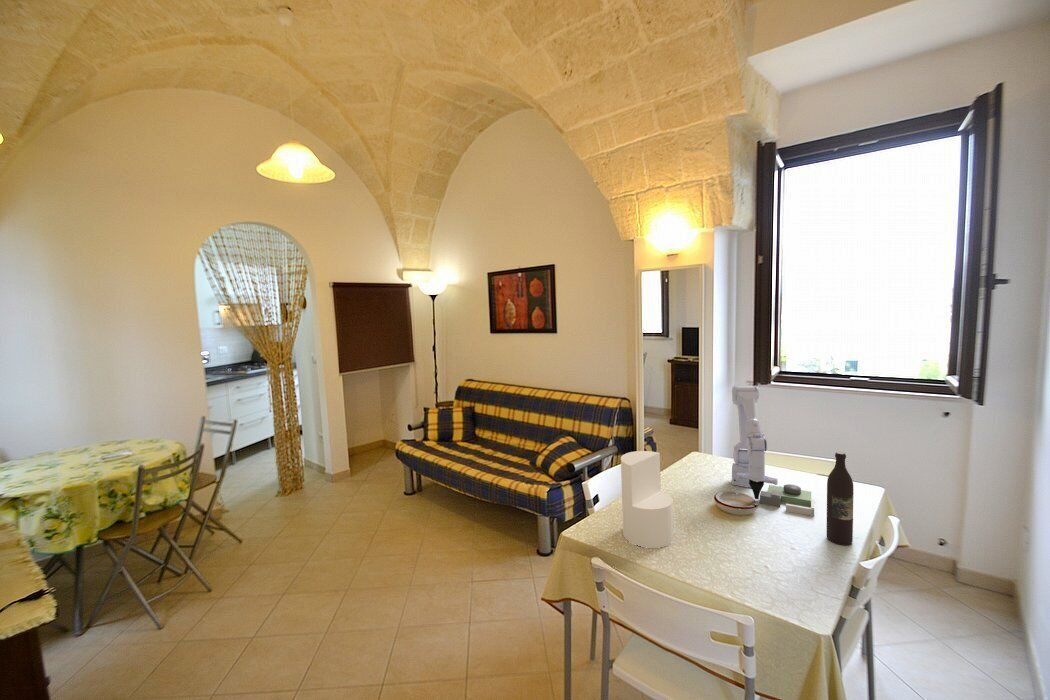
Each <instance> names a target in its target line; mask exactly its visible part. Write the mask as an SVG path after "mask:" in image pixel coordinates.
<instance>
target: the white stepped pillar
mask: <svg viewBox="0 0 1050 700" xmlns="http://www.w3.org/2000/svg"><path fill="white" fill-rule="evenodd" d="M660 454H661V453H660V452H656V451H649V450H637V451H630V452H627V453H625V454H622V455H621V457H620V471H621V472H620V473H621V502H622V503H621V504H622V505H621V506H622V529H623V531H622V536H623V535H624V536H623V538H624V537H625V538H626V539H627V540H628V541H629V542H631V543H633V544H636V545H638V546H642V547H647V548H646V549H648V548H658V549H660V548H659V547H663V548H665V547H664V546H666V547H668V546H670V545H671V544H672V543H673V542H674V539H673V538H674V536H675V535H674V500H673V496H671V495H670V493H667V492H666V491H663V490H661V489H662V488H661V455H660ZM625 538H624V539H625ZM626 539H625V540H626ZM627 540H626V541H627ZM628 541H627V542H628ZM672 541H673V542H672ZM629 542H628V543H629ZM671 542H672V543H671ZM631 543H630V544H631ZM670 543H671V544H670ZM633 544H632V545H633ZM669 544H670V545H669ZM667 545H668V546H667ZM638 546H637V547H638ZM642 547H641V548H642Z"/></svg>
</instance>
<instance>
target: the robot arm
mask: <svg viewBox="0 0 1050 700" xmlns="http://www.w3.org/2000/svg"><path fill="white" fill-rule="evenodd" d="M731 394H732V395H731V396H732V398H731V399H732V404H733V405H736V407H737V411H738V425H739V428H738V429H739V442H738V443H736V444H735V445H734V446H733V452H732V453H733V455H732V457H733V463H732V465H731V466H732V468H731V485H732V486H739V487H744V488H748V489H749V488H751V491H752V494H753V497H754V499H755V500H760V493H761V491H762V489H763V487H764V485H765V483H766V484H771V485H773V486H778V478H775V477H771V476H767V475H766V473H765V471H766V465H765V464H766V460H765V459H766V457H765V455H766V452H767V450H768V443H767V439H766V437H765V434H763V430H762V424H761V421H760V420H758V419H757V412H756V411H757V410H756V403H757V402H758V400H759V398H760V391H759V387H758V386H757V385H733V386H732V390H731Z"/></svg>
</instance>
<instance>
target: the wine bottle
mask: <svg viewBox="0 0 1050 700" xmlns="http://www.w3.org/2000/svg"><path fill="white" fill-rule="evenodd" d="M834 457H835V465H834V467H833V469H831V471H830V473H829V474H828V477H827V484H826V538H827V540H828V541H830V542H831V543H833V544H837V545H839V546H849V545H852V544H853V540H854V536H853V535H854V483H853V478H852V477H851V475H850V473H849V471H848V470H847V466H846V459H847V455H846V453H845V452H842V451H836V452H835V454H834Z"/></svg>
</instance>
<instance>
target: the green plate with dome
mask: <svg viewBox="0 0 1050 700" xmlns="http://www.w3.org/2000/svg"><path fill="white" fill-rule="evenodd" d="M772 490H776V491H780V494H781V503H785V511H786V512H790V513H794V514H795V513H796V514H800V515H807V516H811V517H815V499H812V491H809V490H802V489H801V487H800V486H799V485H796V484H791V483H790V484H788V483H787V484H784V485H783V486H779V485H773V484H771V485H770V484H769V485H768V487H767V492H771V493H772Z"/></svg>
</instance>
